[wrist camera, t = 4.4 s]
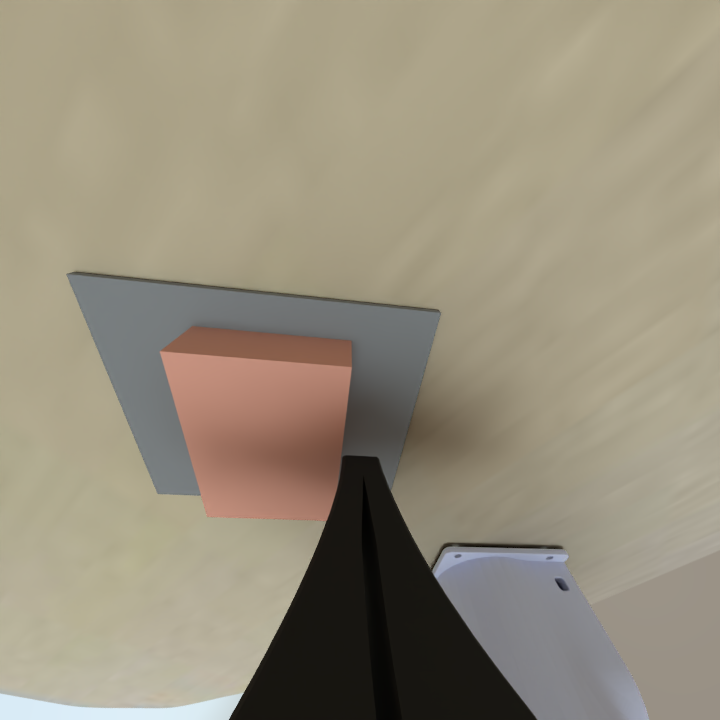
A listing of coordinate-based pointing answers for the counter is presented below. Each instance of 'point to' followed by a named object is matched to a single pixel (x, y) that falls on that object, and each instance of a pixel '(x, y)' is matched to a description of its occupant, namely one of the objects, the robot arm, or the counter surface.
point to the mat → (257, 314)
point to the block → (261, 419)
